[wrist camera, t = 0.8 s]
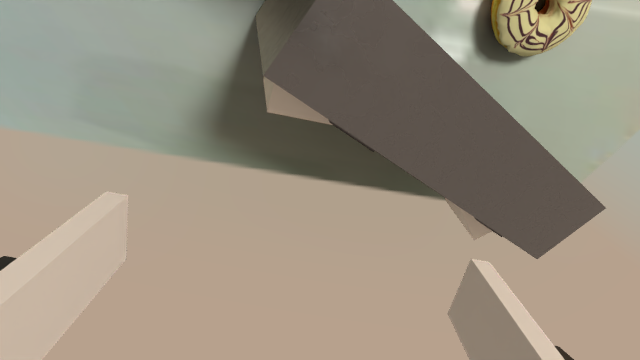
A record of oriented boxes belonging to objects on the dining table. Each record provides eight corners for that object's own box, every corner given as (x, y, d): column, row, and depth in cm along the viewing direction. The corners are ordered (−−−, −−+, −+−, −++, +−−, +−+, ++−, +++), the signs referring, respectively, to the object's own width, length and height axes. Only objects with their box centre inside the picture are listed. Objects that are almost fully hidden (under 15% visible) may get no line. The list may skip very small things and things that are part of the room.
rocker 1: (262, 82, 35) (266, 114, 29) (269, 52, 33) (274, 80, 28) (377, 107, 38) (401, 140, 33) (388, 82, 37) (414, 111, 31)
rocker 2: (414, 134, 41) (441, 169, 35) (437, 121, 40) (468, 155, 35) (445, 202, 48) (472, 240, 42) (465, 192, 47) (495, 229, 42)
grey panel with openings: (253, 18, 36) (260, 79, 23) (304, -61, 33) (346, -45, 20) (458, 171, 52) (534, 261, 39) (505, 127, 49) (605, 208, 36)
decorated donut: (518, 66, 45) (538, 77, 42) (464, 13, 40) (482, 21, 37) (594, -13, 41) (622, -7, 38) (543, -83, 36) (570, -83, 33)
